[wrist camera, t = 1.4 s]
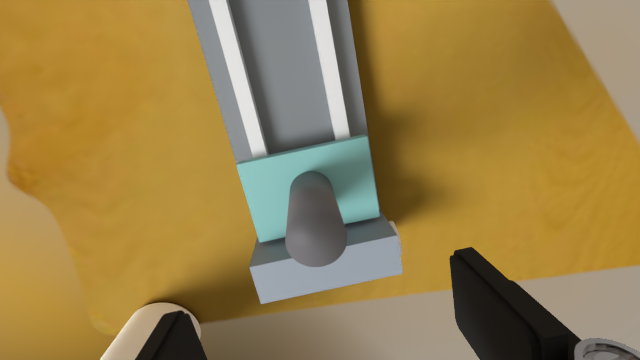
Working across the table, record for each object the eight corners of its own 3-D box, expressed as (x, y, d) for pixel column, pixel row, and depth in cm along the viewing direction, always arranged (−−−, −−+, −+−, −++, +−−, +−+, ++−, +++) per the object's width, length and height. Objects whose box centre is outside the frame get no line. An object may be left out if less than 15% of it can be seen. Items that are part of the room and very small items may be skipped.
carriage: (238, 161, 21) (205, 203, 14) (364, 134, 21) (400, 160, 14) (261, 236, 23) (242, 310, 15) (376, 211, 23) (414, 272, 15)
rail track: (174, -64, 19) (122, -127, 14) (333, -99, 19) (348, -176, 14) (269, 257, 27) (261, 304, 21) (385, 232, 27) (408, 272, 21)
